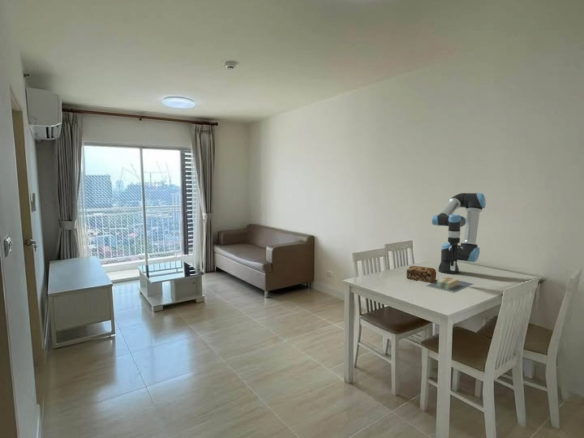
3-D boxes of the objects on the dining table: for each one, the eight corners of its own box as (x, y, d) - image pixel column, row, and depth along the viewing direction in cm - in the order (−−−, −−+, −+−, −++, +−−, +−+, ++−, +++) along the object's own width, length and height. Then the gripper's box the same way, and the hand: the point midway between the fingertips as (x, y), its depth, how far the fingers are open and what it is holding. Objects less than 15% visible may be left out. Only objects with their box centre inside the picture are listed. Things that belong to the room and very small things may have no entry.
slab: (446, 282, 241) (436, 286, 232) (446, 277, 240) (436, 280, 231) (457, 285, 234) (448, 289, 226) (458, 279, 234) (448, 283, 225)
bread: (436, 280, 247) (436, 267, 246) (430, 284, 240) (430, 270, 239) (412, 276, 261) (412, 263, 260) (405, 278, 253) (405, 265, 252)
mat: (426, 286, 235) (426, 285, 235) (445, 278, 252) (445, 277, 252) (455, 293, 219) (455, 292, 219) (473, 284, 237) (473, 283, 237)
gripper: (455, 238, 227) (453, 272, 230) (463, 236, 235) (462, 269, 238) (444, 237, 233) (442, 270, 235) (453, 235, 241) (451, 267, 244)
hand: (452, 270), depth 237 cm, fingers closed
